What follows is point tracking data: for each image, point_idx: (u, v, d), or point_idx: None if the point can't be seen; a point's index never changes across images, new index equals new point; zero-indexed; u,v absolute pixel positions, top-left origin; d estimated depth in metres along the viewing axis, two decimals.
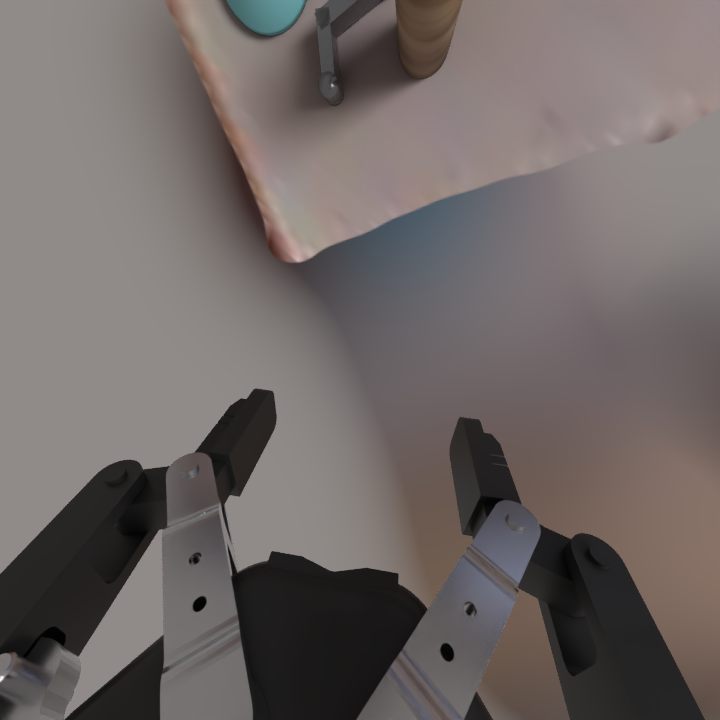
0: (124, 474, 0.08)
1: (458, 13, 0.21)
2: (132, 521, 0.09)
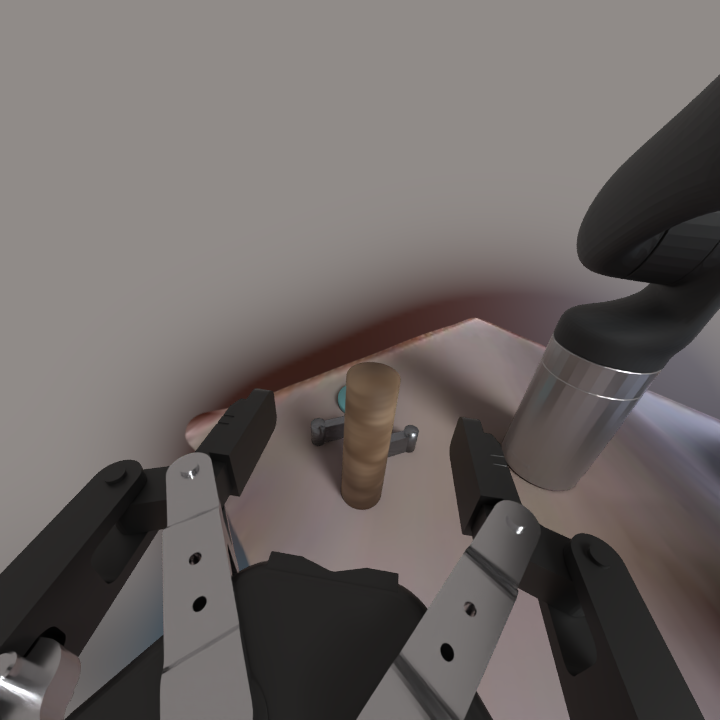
0: (124, 474, 0.08)
1: (365, 463, 0.28)
2: (132, 521, 0.09)
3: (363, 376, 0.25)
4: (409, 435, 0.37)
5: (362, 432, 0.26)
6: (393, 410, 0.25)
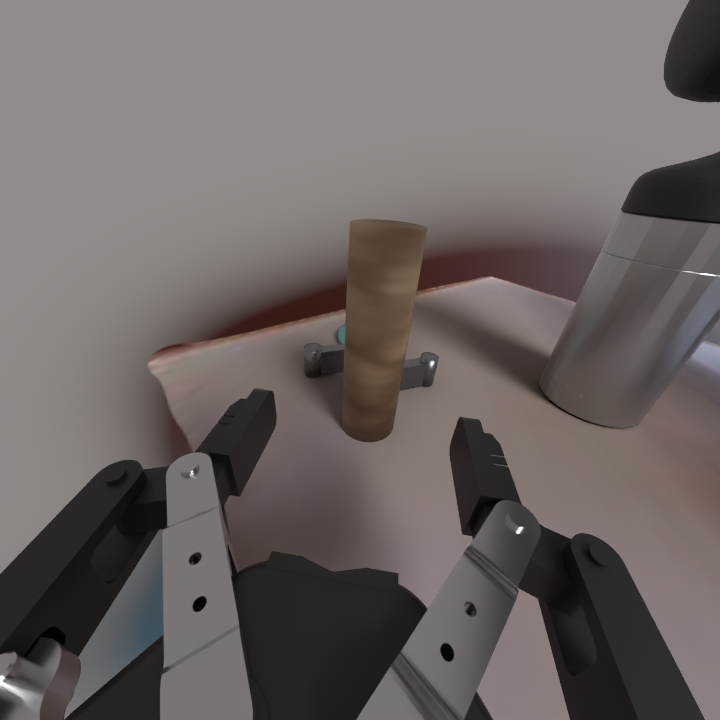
0: (124, 474, 0.08)
1: (375, 364, 0.20)
2: (132, 521, 0.09)
3: (374, 224, 0.17)
4: (427, 361, 0.30)
5: (371, 308, 0.18)
6: (416, 275, 0.18)
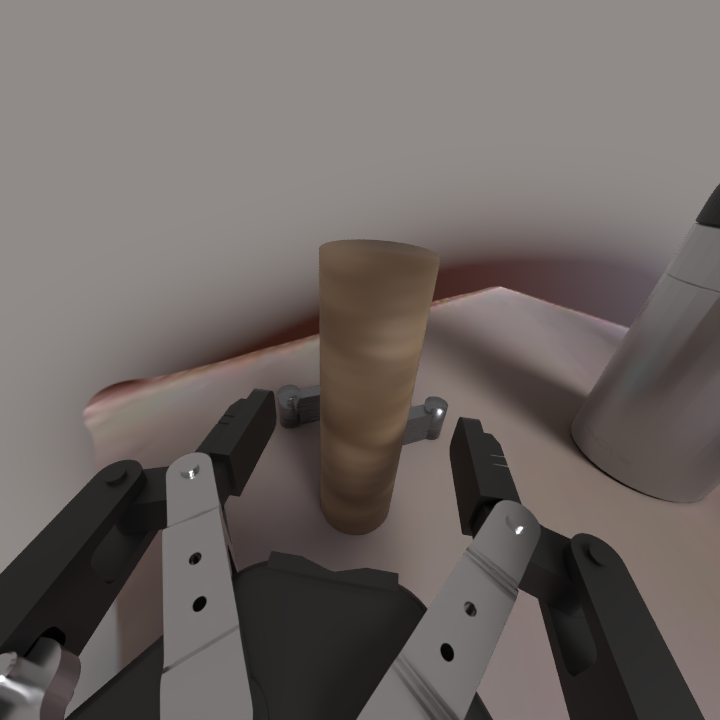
0: (124, 474, 0.08)
1: (361, 448, 0.14)
2: (132, 521, 0.09)
3: (357, 249, 0.11)
4: (433, 411, 0.23)
5: (354, 377, 0.12)
6: (422, 328, 0.12)
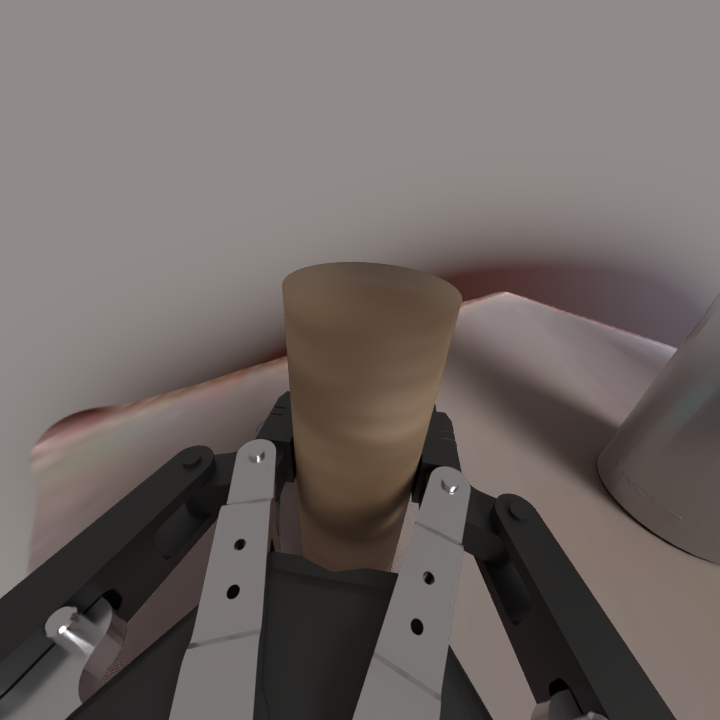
0: (198, 458, 0.09)
1: (350, 541, 0.10)
2: (197, 505, 0.09)
3: (340, 283, 0.08)
4: None
5: (336, 463, 0.08)
6: (434, 394, 0.08)
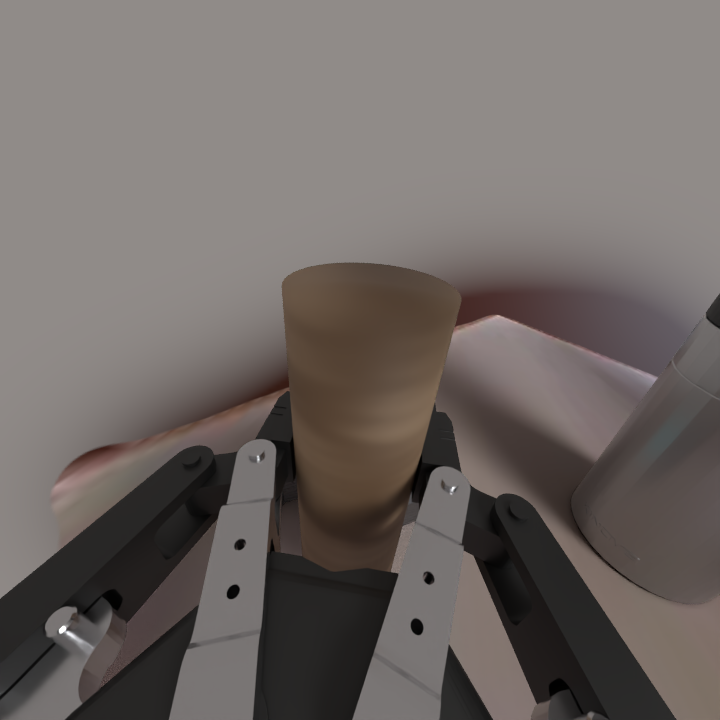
0: (199, 458, 0.09)
1: (350, 542, 0.10)
2: (197, 505, 0.09)
3: (339, 283, 0.08)
4: None
5: (336, 464, 0.08)
6: (434, 394, 0.08)
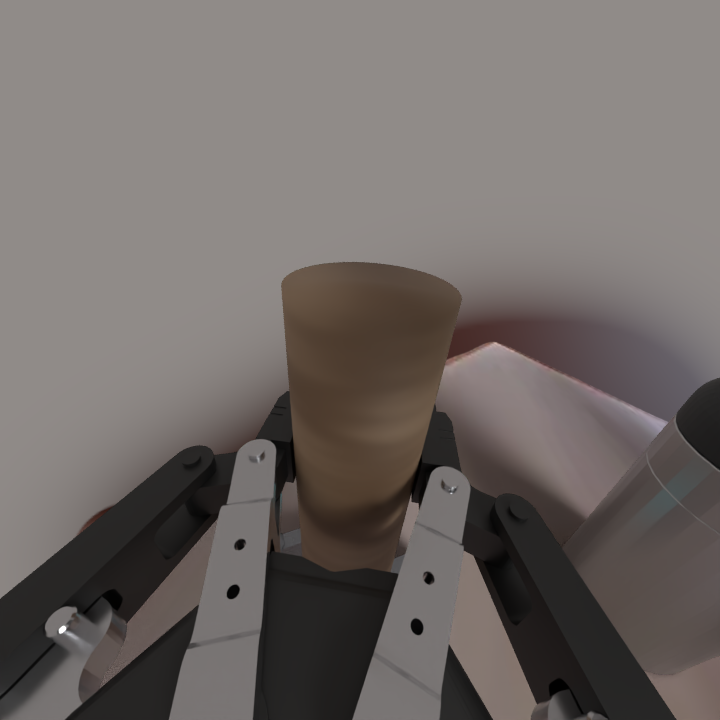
0: (199, 458, 0.09)
1: (350, 542, 0.10)
2: (197, 505, 0.09)
3: (338, 283, 0.08)
4: None
5: (335, 464, 0.08)
6: (434, 394, 0.08)
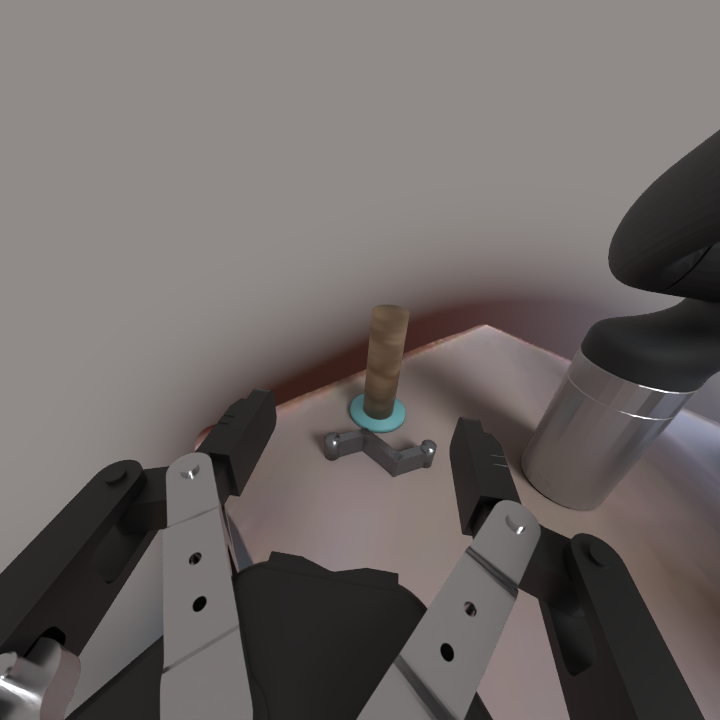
0: (124, 474, 0.08)
1: (383, 377, 0.39)
2: (132, 521, 0.09)
3: (383, 311, 0.36)
4: (426, 450, 0.36)
5: (382, 351, 0.37)
6: (404, 335, 0.37)
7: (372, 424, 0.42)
